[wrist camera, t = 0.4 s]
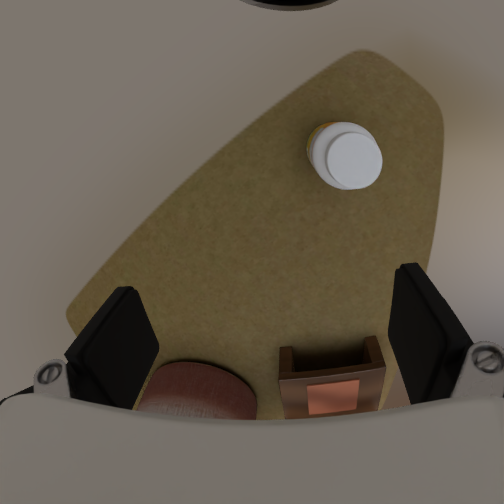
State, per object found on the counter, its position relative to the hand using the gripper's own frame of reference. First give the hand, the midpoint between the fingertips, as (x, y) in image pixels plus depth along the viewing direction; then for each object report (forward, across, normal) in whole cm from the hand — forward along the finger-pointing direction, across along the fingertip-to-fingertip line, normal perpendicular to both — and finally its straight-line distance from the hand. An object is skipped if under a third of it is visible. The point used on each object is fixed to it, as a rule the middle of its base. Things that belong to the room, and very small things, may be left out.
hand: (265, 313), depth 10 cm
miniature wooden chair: (+21, -5, +27) cm, 35 cm away
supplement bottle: (+22, -6, -3) cm, 23 cm away
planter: (+21, +15, +32) cm, 41 cm away
